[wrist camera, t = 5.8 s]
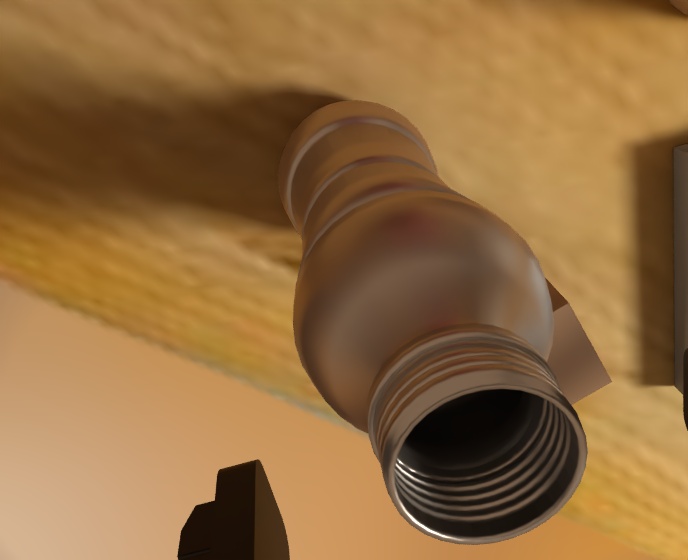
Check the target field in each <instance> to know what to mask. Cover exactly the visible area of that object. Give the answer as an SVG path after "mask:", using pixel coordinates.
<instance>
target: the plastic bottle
mask: <svg viewBox="0 0 688 560" xmlns="http://www.w3.org/2000/svg"><path fill="white" fill-rule="evenodd" d="M278 186H279V194H280V197H281V201H282V204H283V207H284V209H285V211H286V213H287V215H288V217H289V219H290V221H291V223H292V224H293V226H294V228H295V230H296V231H297V233H298V234H299V235H300V237H301V239H302V260H301V264H300V269H299V274H298V279H297V282H296V289H295V297H294V308H293V328H294V337H295V345H296V348H297V351H298V354H299V357H300V360H301V363H302V366H303V368H304V369H305V371H306V373H307V374H308V376H309V377H310V379H311V381H312V382H313V384H314V386H315V387H316V388H317V390H318V391H319V393H320V394H321V395H322V397H323V398H324V400H325V401H326V402H327V403H328V404H329V405H330V406H331V407H332V408H333V410H334V411H335V412H336V413H337V414H338V415H339V416H340V417H342V418H343V419H344V420H346V421H347V422H349V423H350V424H352V425H353V426H354V427H356V428H357V429H359V430H361V431H364V432H366V433H368V434H369V438H370V441H371V445H372V448H373V451H374V454H375V455H376V457H377V459H378V460H379V462H380V464H381V468H382V473H383V477H384V481H385V484H386V488H387V491H388V494H389V495H390V497H391V499H392V502H393V503H394V505H395V507H396V508H397V510H398V511H399V513H400V514H401V516H403V517H404V519H406V521H407V522H408V523H409V524H411V525H412V526H413V527H415V528H416V529H418V530H419V531H421V532H422V533H424V534H426V535H428V536H431V537H433V538H436V539H438V540H441V541H446V542H451V543H455V544H469V545H470V544H471V545H478V544H489V543H496V542H500V541H504V540H508V539H511V538H514V537H517V536H519V535H522V534H524V533H527V532H529V531H531V530H533V529H534V528H536V527H538V526H539V525H541V524H543V523H544V522H546V521H547V520H548V519H550V518H551V517H552V516H553V515H555V514H556V513H557V512H558V511H559V510H560V509H561V508H562V507H563V506H564V505H565V504H566V503H567V501H568V500H569V499H570V498H571V497H572V495H573V493H574V492H575V490H576V488H577V487H578V485H579V484H580V481H581V479H582V476H583V473H584V470H585V468H586V460H587V452H588V451H587V443H586V435H585V433H584V430H583V428H582V425H581V422H580V420H579V417H578V415H577V413H576V411H575V410H574V409H573V407H572V406H571V404H570V403H569V401H568V400H567V399H566V397H565V396H564V395H563V393H562V390H561V387H560V384H559V382H558V379H557V377H556V374H555V373H554V372H553V370H552V369H551V367H550V366H549V365H548V363H547V360H548V357H549V354H550V350H551V347H552V343H553V332H554V317H553V310H552V302H551V298H550V294H549V290H548V286H547V282H546V279H545V277H544V274H543V271H542V268H541V266H540V263H539V261H538V259H537V258H536V256H535V254H534V253H533V251H532V250H531V248H530V247H529V245H528V244H527V242H526V241H525V240H524V239H523V238H522V237H521V236H520V235H519V234H518V233H517V232H516V231H515V230H514V229H513V228H512V227H511V226H509V225H508V224H507V223H506V222H504V221H503V220H502V219H500V218H499V217H498V216H497V215H496V214H494V213H492V212H491V211H489V210H488V209H486V208H484V207H483V206H481V205H479V204H478V203H476V202H474V201H472V200H470V199H468V198H467V197H465V196H463V195H461V194H459V193H457V192H456V191H454V190H452V189H450V188H449V187H448V186H447V185H446V184H445V183H444V182H443V181H442V180H441V179H440V177H439V176H438V173H437V168H436V164H435V162H434V159H433V157H432V155H431V152H430V150H429V147H428V145H427V143H426V141H425V139H424V138H423V136H422V135H421V133H420V132H419V131H418V129H417V128H416V127H415V126H414V125H413V124H412V123H411V122H410V121H409V120H408V119H407V118H405V117H404V116H402V115H401V114H399V113H398V112H396V111H395V110H393V109H391V108H388V107H385V106H383V105H380V104H378V103H372V102H366V101H358V100H355V101H340V102H336V103H332V104H328V105H326V106H324V107H322V108H320V109H318V110H316V111H314V112H313V113H312V114H310V115H309V116H308V117H306V118H305V119H304V120H303V121H302V122H301V123H300V124H299V126H298V127H297V128H296V129H295V130H294V132H293V133H292V134H291V136H290V138H289V140H288V142H287V143H286V145H285V147H284V149H283V153H282V156H281V159H280V162H279V171H278Z"/></svg>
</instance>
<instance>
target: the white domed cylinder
mask: <svg viewBox="0 0 688 560" xmlns="http://www.w3.org/2000/svg"><path fill="white" fill-rule="evenodd" d="M668 1H669V2H670V3H671V4H672V5H673V6H674V7H675V8H676V9H678V10H679V11H681V12H682V13H684V14H685V15H687V16H688V0H668Z"/></svg>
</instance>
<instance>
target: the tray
mask: <svg viewBox="0 0 688 560" xmlns="http://www.w3.org/2000/svg"><path fill="white" fill-rule="evenodd" d="M673 159H674V360H675V387H676V388H677V389H678V390H679V391H680V392H681V393H682V394H683V356H684V352H685V350H686V349H687V348H688V144H685V145H681V146H677V147H673Z"/></svg>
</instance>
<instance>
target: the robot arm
mask: <svg viewBox="0 0 688 560" xmlns="http://www.w3.org/2000/svg"><path fill="white" fill-rule="evenodd" d="M683 412H684V420H685V424H686V427H687V430H688V348H687V349H686V350H685V352H684V356H683ZM177 557H178V560H290V558H289V557H290V556H289V546H288V540H287V535H286V530H285V526H284V523H283V519H282V516H281V514H280V511H279V508H278V506H277V503H276V500H275V498H274V495H273V492H272V490H271V487H270V484H269V482H268V479H267V476H266V474H265V471H264V468H263V466H262V464H261V462H260V461H259V460H254V461H250V462H246V463H242V464H238V465H235V466H231V467H227V468H224V469H220V470H219V471H218V474H217V483H216V494H215V501H211V502H208V503H204V504H200V505H196V506H195V508H194V510H193V511H192V513H191V515H190V516H189V518H188V520H187V522H186V523H185V525H184V527H183V528H182V530H181V535H180V542H179V549H178V556H177Z"/></svg>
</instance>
